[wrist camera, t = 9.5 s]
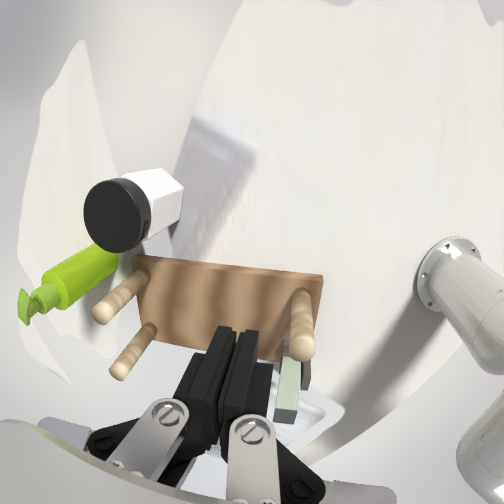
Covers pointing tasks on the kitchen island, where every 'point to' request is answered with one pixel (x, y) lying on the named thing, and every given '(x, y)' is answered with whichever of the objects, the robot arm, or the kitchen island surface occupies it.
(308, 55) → the kitchen island surface
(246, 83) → the kitchen island surface
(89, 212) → the jar
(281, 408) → the hinged leg
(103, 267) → the soap dispenser
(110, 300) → the stool seat
